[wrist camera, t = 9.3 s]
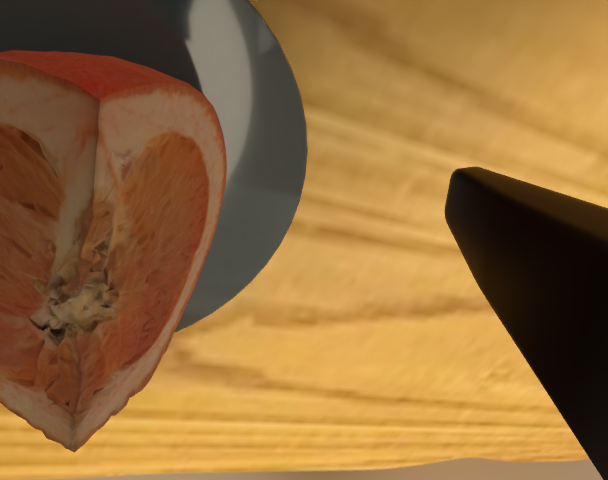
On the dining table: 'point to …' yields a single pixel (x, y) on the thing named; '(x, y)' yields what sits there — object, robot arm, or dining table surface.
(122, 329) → the fruit slice
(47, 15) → the cake stand
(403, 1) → the dining table surface
